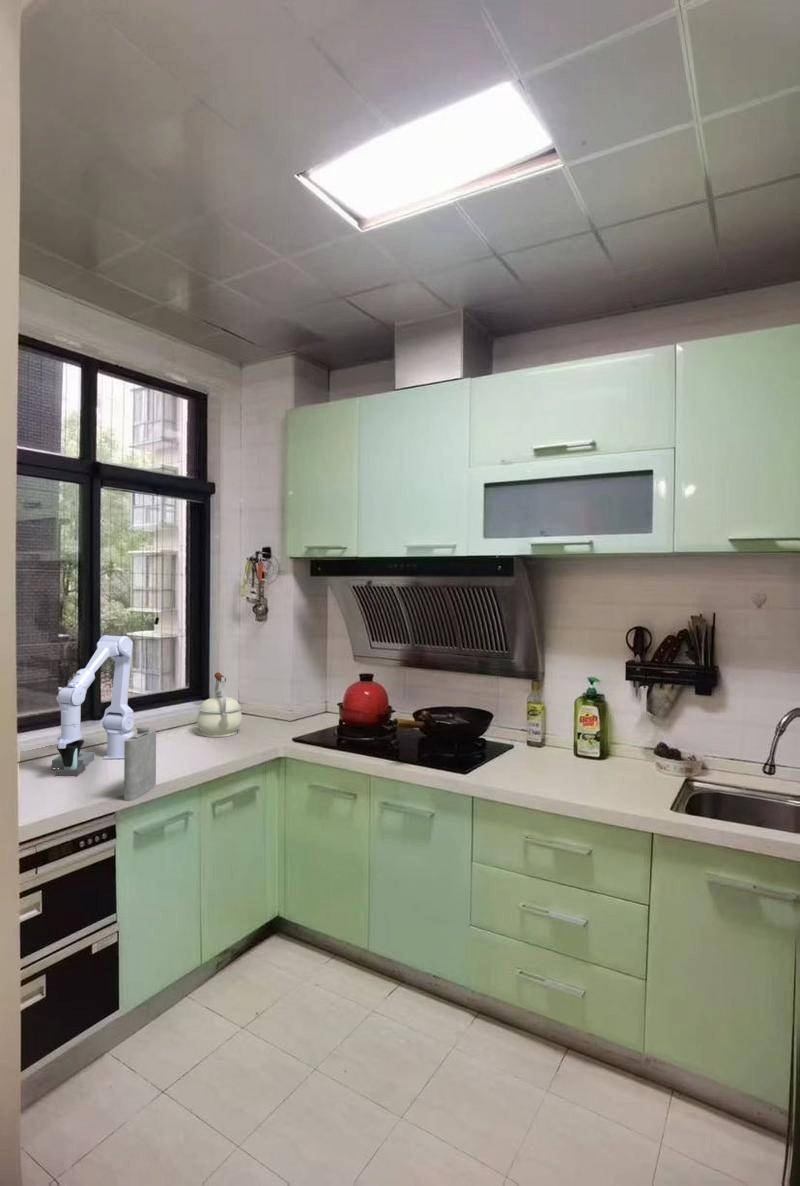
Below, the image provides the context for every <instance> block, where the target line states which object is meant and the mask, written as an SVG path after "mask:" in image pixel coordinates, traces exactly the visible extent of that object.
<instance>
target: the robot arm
mask: <svg viewBox="0 0 800 1186" xmlns="http://www.w3.org/2000/svg"><path fill="white" fill-rule="evenodd" d="M133 643H134V642H133V641H132V639H131V638H130V637H128V636H127V635H123V636H122V635H108V634H105V635H102V636H101V637H100V638H99V640H98V642H97V643H96V650H95V652H94V654H92V656H91V658H90V659H89V661H88V662H87V664H86V665H85V668H80V669H79V670H77V671H76V674H75V675H74V676H73V677H72V679H71V680H70V681H69V683H68V684H67V685H66V686H65V687H63V688H62V689H60V690H59V691H58V694H57V696H56V701H57V703H58V705H59V709H60V736H58V737H57V738H56V739H57V741H59V742H57V746H56V750H57V751H58V753H59V754H60V755H61V757H62V760H63V764H64V767H71V766H72V763H73V756H74V752H75V749H76V748H77V760H78V756H79V752H81V749H82V746H83V745H84V743H85V740H84V739H82V738H83V732H84V731H81V729H82V728H81V715H82V713H81V711H82V710H81V709H82V707H81V705H82V704H83V703H84V701H85V699H86V695H87V690H88V689H89V687H90V686H91V684H92V683H93V682H94V681H95V679H96V676H95V674H96V672H97V671H98V670H99V668H100V667H101V666H102V665H103V663H105V662H106V660H107V659H108V658H111V659H112V660H113V661H114V671H113V681H112V690H111V691H112V692H111V704H110V705H109V706H108V707H107V708H105V710H104V714H103V717H102V721H101V724H102V725H101V726H102V728H103V729H104V730H105V733H107V735H106V736H107V738H106V743H107V744H106V747H107V748H106V755H104V756H103V757H102V759H103V760H106V759H107V760H110V759H113V760H114V759H115V760H117V759H121V760H122V759H124V740H126V739H128V738H130V737H132V736H134V735H136V734H137V732H135V731H131V730H132V729H133V728H134V726H135V725H134V724H135V717H134V710H133V709H132V708H131V707H130V706H129V704H128V701H129V691H130V689H129V688H130V679H131V669H132V668H131V667H132V658H133V657H132V656H133V655H132V654H133ZM60 755H59V756H60Z"/></svg>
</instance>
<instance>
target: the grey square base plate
mask: <svg viewBox="0 0 800 1186" xmlns="http://www.w3.org/2000/svg"><path fill="white" fill-rule="evenodd" d="M85 766H86V764H77V768H76V769H66V770H64V765H63V766H62V767H60V768H59V769H55V770H54V771H55V772H54V775H55V776H75V777H78V775H79V774H80V773H81V774H83V773H84V772H85V771H86V767H87V766H86V767H85ZM84 770H85V771H84ZM83 771H84V772H83ZM81 774H80V775H81ZM80 775H79V776H80Z"/></svg>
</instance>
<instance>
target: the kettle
mask: <svg viewBox="0 0 800 1186" xmlns="http://www.w3.org/2000/svg"><path fill="white" fill-rule="evenodd" d="M214 678H215V684H214V685H215V686H214V697H213V696H212V697H210V698H208V699H205V700H204V701H203V702H202V703H201V705H200V706H198V709H197V710H198V711H199V712H198V714H197V718H196V724H197V728H199V730H200V731H201V734H202V735H203V736H204V737H208V738H226V736H227V737H231V735H232V736H235V735H236V734H237V733H238V730H239V728H240V727H241V726H242V724H243V715H242V714H243V713H242V711H241V710H242V706H241V705H240V703H239V702H238V700H237V699H235V698H233V697H230V696H227V695H226V686H225V685H226V682H227V678H226V677H225V676H224V675H222V673H220V672H215V673H214ZM219 684H221V685H219ZM219 686H220V687H221V688H220V689H221V690H219Z"/></svg>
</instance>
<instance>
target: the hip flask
mask: <svg viewBox="0 0 800 1186" xmlns="http://www.w3.org/2000/svg"><path fill="white" fill-rule="evenodd" d="M136 731H137V732H136V735H134V736H132V737H130V738H128V739H126V740H124V760H123V761H124V764H123V765H124V766H123V771H124V772H123V778H124V781H123V801H125V802H130V801H135V800H136V799H138V798H141V797H142V796H145V795H146V794H147V793H148V792H150V791H152V790H153V788H154V787H155V786H156V784H157V779H156V778H157V728H154V727H152V728H150V725H139V726H137V727H136Z"/></svg>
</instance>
